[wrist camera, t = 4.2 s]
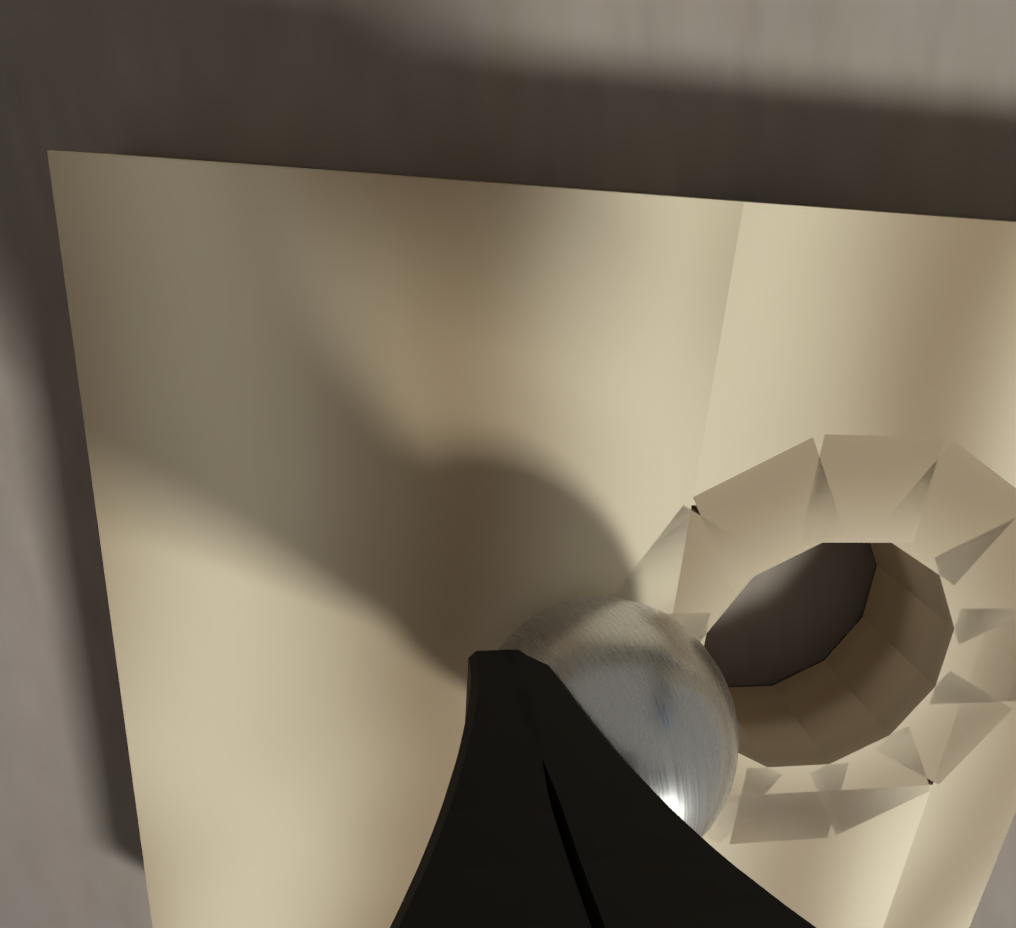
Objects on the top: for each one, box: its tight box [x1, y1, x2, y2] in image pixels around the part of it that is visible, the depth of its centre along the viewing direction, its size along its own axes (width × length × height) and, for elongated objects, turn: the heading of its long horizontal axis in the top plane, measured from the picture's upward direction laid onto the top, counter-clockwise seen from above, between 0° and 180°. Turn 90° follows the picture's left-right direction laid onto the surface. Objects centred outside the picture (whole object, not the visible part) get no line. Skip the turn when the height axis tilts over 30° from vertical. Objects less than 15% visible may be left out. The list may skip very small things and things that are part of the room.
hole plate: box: [47, 150, 1016, 928], centre depth 15 cm, size 18×16×2 cm
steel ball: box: [498, 596, 739, 837], centre depth 12 cm, size 4×4×4 cm
